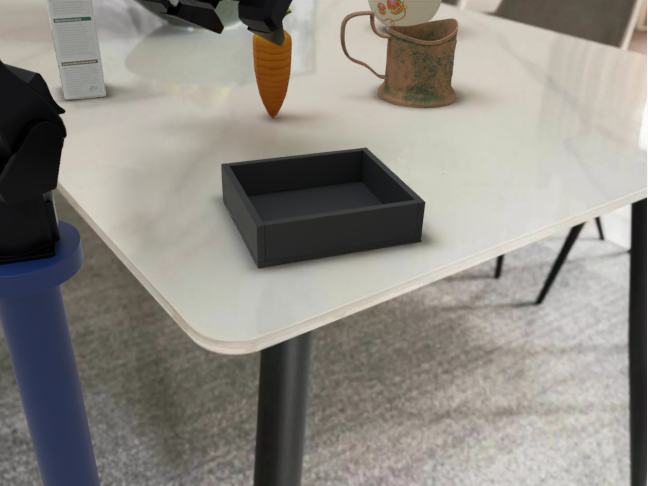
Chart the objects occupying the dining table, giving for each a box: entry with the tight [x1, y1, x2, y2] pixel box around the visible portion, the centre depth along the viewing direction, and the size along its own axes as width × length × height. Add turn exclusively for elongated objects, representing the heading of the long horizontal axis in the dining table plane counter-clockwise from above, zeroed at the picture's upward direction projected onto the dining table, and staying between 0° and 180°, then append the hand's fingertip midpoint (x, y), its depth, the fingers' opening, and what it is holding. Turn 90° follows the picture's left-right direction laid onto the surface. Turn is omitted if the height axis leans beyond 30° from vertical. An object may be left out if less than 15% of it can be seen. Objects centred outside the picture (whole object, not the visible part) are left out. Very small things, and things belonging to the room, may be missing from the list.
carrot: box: [252, 8, 293, 119], centre depth 86 cm, size 5×5×15 cm
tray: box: [220, 147, 426, 268], centre depth 64 cm, size 15×13×4 cm
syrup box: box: [45, 0, 107, 101], centre depth 93 cm, size 6×6×14 cm
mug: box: [339, 10, 459, 109], centre depth 96 cm, size 12×18×12 cm, turn 104°
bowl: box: [367, 0, 443, 33], centre depth 133 cm, size 16×16×10 cm
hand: (251, 36), depth 81 cm, fingers open, 9 cm apart
